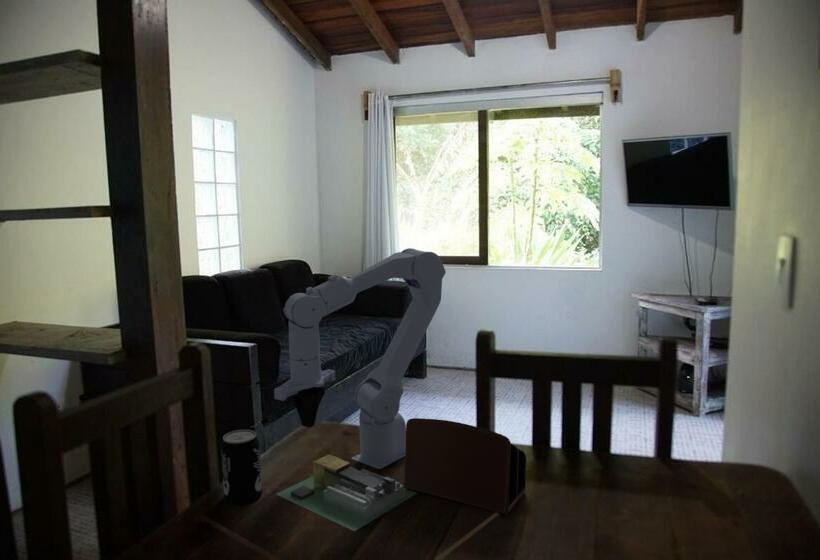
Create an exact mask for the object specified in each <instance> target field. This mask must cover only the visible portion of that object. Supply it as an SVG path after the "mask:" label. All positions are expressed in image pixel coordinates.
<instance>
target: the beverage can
mask: <svg viewBox="0 0 820 560" xmlns="http://www.w3.org/2000/svg"><path fill="white" fill-rule="evenodd" d="M222 440H223V441H222V443H221V445H220V455H221V466H222V467H221V468H222V483H223V499H224V501H225V502H226V503H227V504H230V505H233V506H242V505H249V504H251V503H254V502H255V501H257V500H260V498H261V497H262V494H263V485H262V484H263V483H262V482H263V481H262V468H261V450H260V449H261V448H260V447H261V446H260V440H259V438H258V437H257V433H256V432H255V430H251V429H237V430H232V431H229V432H227V433H226V434H224V435H223V437H222Z"/></svg>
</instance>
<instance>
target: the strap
mask: <svg viewBox="0 0 820 560" xmlns="http://www.w3.org/2000/svg"><path fill="white" fill-rule="evenodd" d="M352 467H353V466H351V467H349V466H348V467H346V468H344V469H342V470H340V471H338V472H333V471H331V470H328V473H330V474H332V475H335V476H337V477H339V478H341V479H344V480H346V481H348V482H351V483H353V484H355V485H358V486H360V487H362V488H364V489H365V488H367V487H371V488H374V489H376V490H377V493H378V492H379V491H381V490H383V489H385V488H387V487H388V483H387V482H386V481H383V480H381V479H378V478H376V477H373V476H371V475H369V474H366V473H364V472H361V470H359V469H357V468H356V469H357V470H356V469H354V468H355V467H354V468H352Z"/></svg>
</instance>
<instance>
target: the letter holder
mask: <svg viewBox="0 0 820 560" xmlns="http://www.w3.org/2000/svg"><path fill="white" fill-rule="evenodd" d="M405 424H406V449H405V454H404V455H405V456H404V459H405V461H404V479H403V481H404V482H403V486H404V488H405V489H408V490H411V491H414V492H416V493H421V494H425V495H427V496H428V495H429V496H432V497H436V498H440V499H444V500H448V501H451V502H455V503H459V504H463V505H467V506H471V507H474V508H479V509H482V510H486V511H488V512H489V511H490V512H493V513H494V512H495V513H497V514H502V515H505V516H507V515H508V514H509V513H510V512H511V510H512V509H513V508H514V506H515V505H516V504H517V503H518V502H519V500H521V498H522V496H524V494H525V493H526V488H527V487H526V486H527V482H526V481H527V475H526V474H527V455H526V453H525V451H523V450H522V449H520V448H518V447H517V446H516V445H515V444H513V443H511V440H510V439H509V437H507V436H505V435H503V434H502V433H498V432H495V431H493V430H489V429H486V428H482V427H479V426H475V425H472V424H471V425H470V424H468V423H463V422H460V421H459V422H457V421H453V420H447V419H446V420H445V419H436V418H435V419H434V418H419V417H417V418H416V417H415V418H414V417H412V418H409V419H407V421H406V422H405Z"/></svg>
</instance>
